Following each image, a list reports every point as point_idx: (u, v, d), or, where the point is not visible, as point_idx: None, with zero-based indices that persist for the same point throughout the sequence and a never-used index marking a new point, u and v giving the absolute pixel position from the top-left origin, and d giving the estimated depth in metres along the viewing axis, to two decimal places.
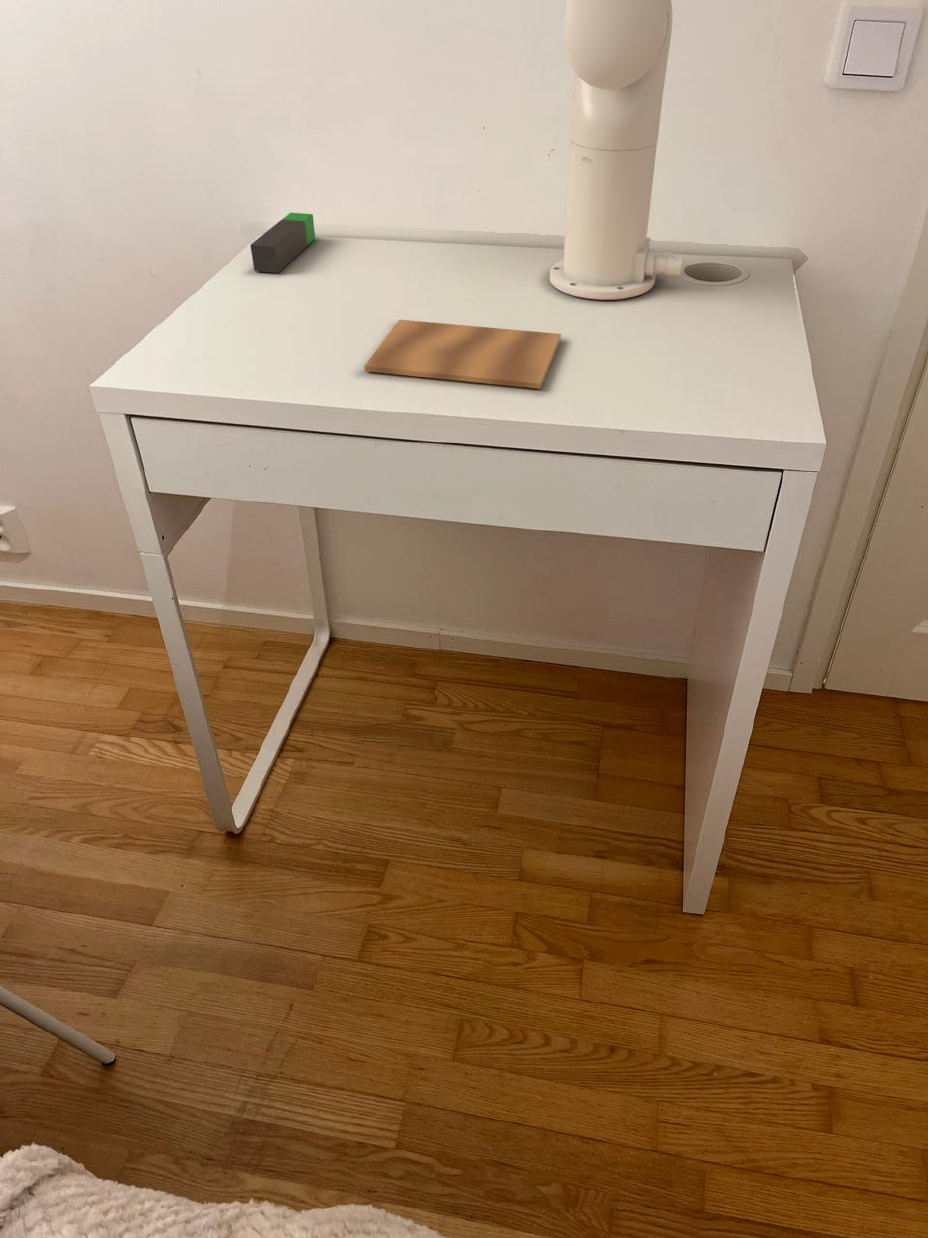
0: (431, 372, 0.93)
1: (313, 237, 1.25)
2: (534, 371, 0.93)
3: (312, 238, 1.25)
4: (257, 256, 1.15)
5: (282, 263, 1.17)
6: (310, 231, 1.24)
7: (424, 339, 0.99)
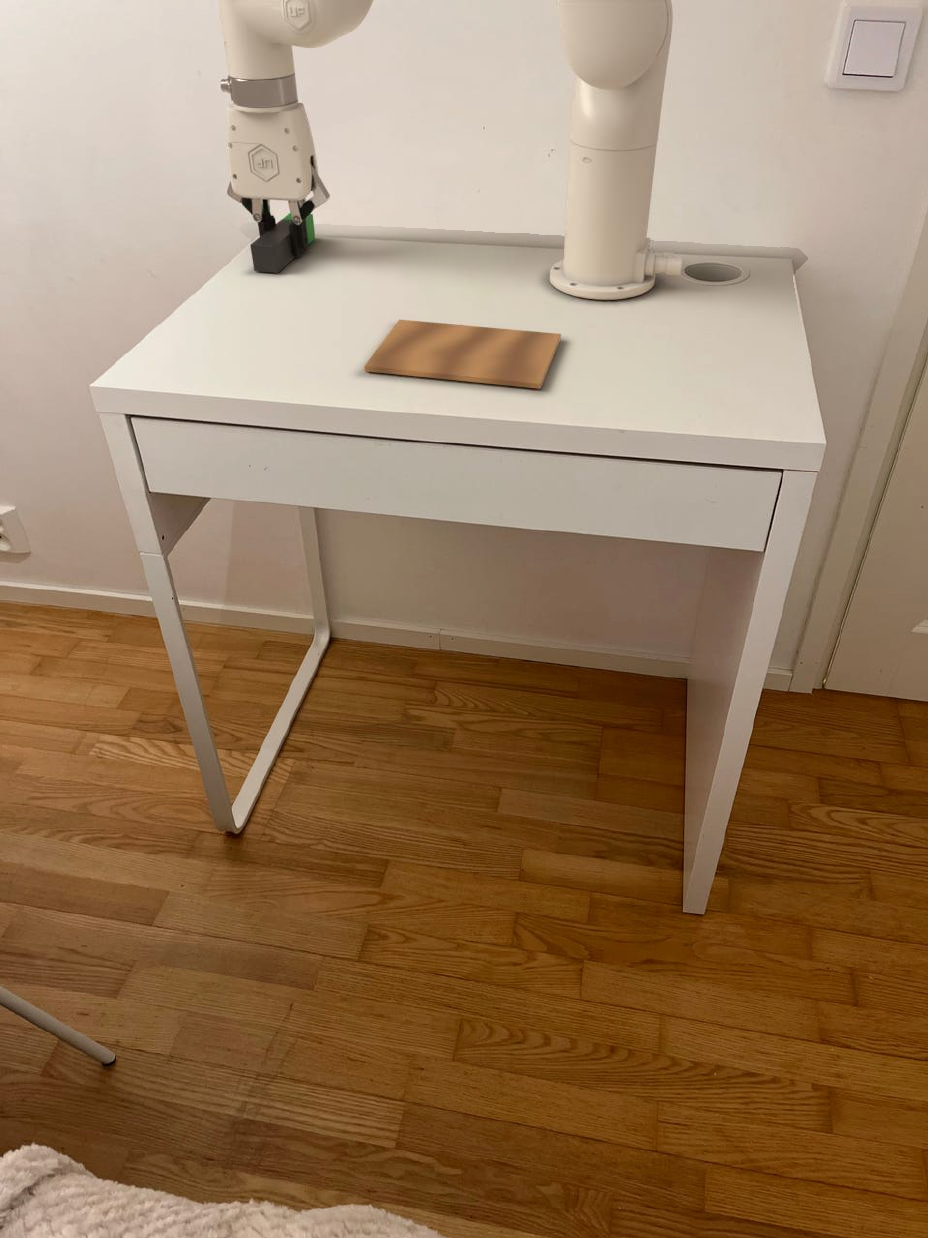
0: (431, 372, 0.93)
1: (313, 237, 1.25)
2: (534, 371, 0.93)
3: (312, 238, 1.25)
4: (257, 256, 1.15)
5: (282, 263, 1.17)
6: (310, 231, 1.24)
7: (424, 339, 0.99)
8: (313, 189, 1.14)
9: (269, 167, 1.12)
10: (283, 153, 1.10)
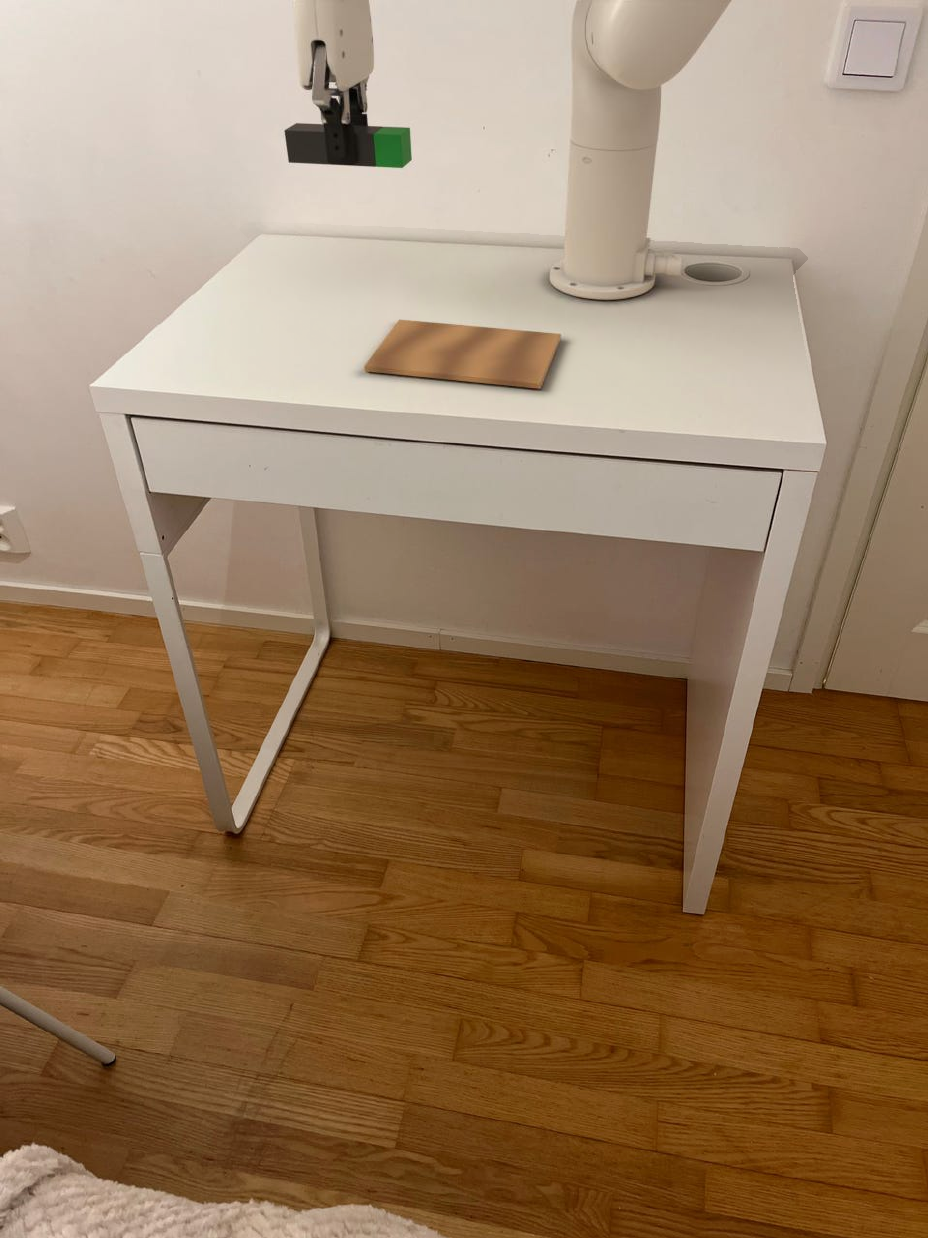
0: (431, 372, 0.93)
1: (396, 164, 0.98)
2: (534, 371, 0.93)
3: (392, 164, 0.98)
4: None
5: (301, 157, 1.00)
6: (387, 152, 0.98)
7: (424, 339, 0.99)
8: None
9: None
10: None
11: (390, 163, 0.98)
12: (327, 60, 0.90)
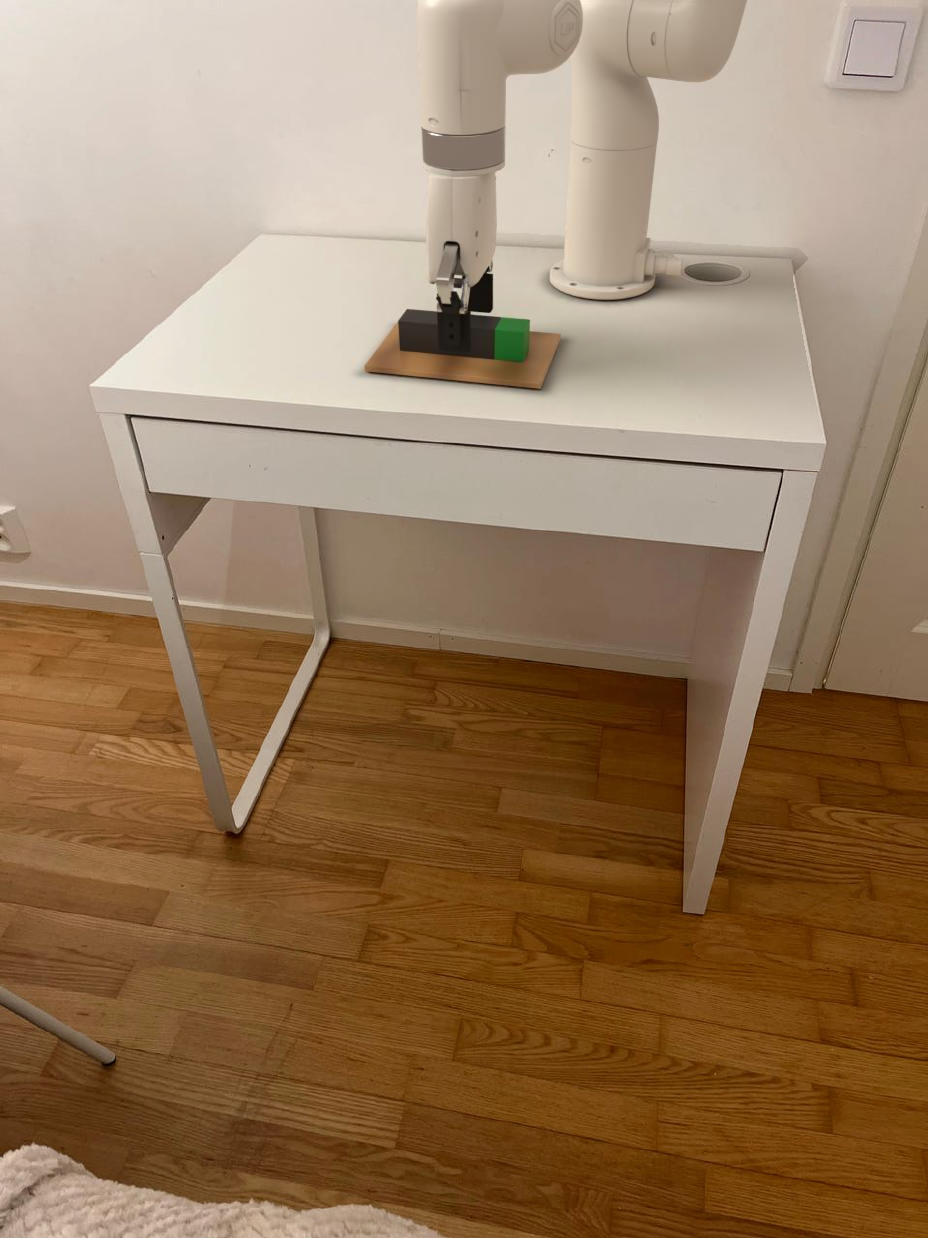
0: (431, 372, 0.93)
1: (516, 358, 0.94)
2: (534, 371, 0.93)
3: (512, 358, 0.94)
4: None
5: (413, 347, 0.96)
6: (508, 347, 0.94)
7: None
8: None
9: None
10: None
11: (510, 357, 0.94)
12: (460, 260, 0.86)
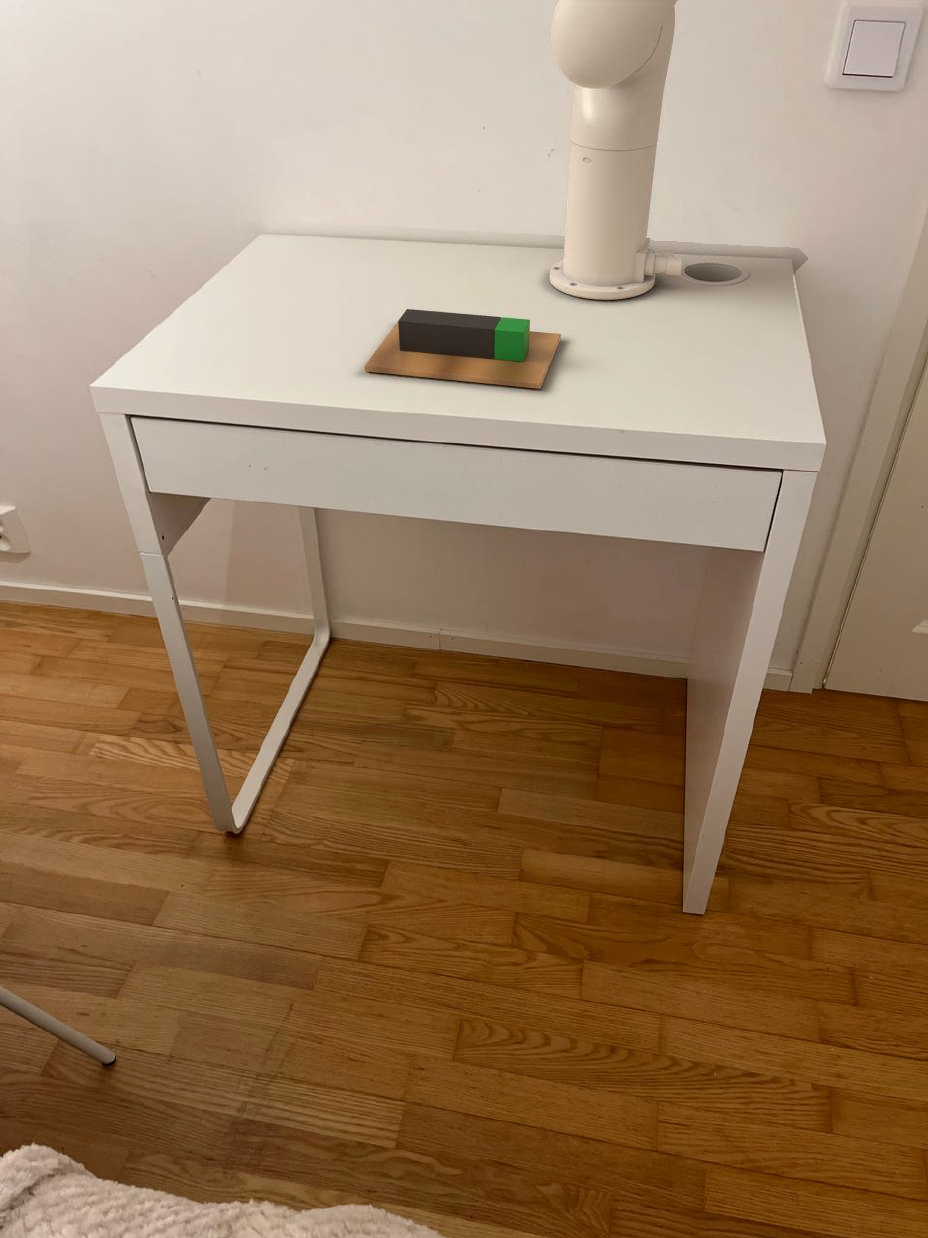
0: (431, 372, 0.93)
1: (516, 358, 0.94)
2: (534, 371, 0.93)
3: (512, 358, 0.94)
4: None
5: (413, 347, 0.96)
6: (508, 347, 0.94)
7: None
8: None
9: None
10: None
11: (510, 357, 0.94)
12: None
